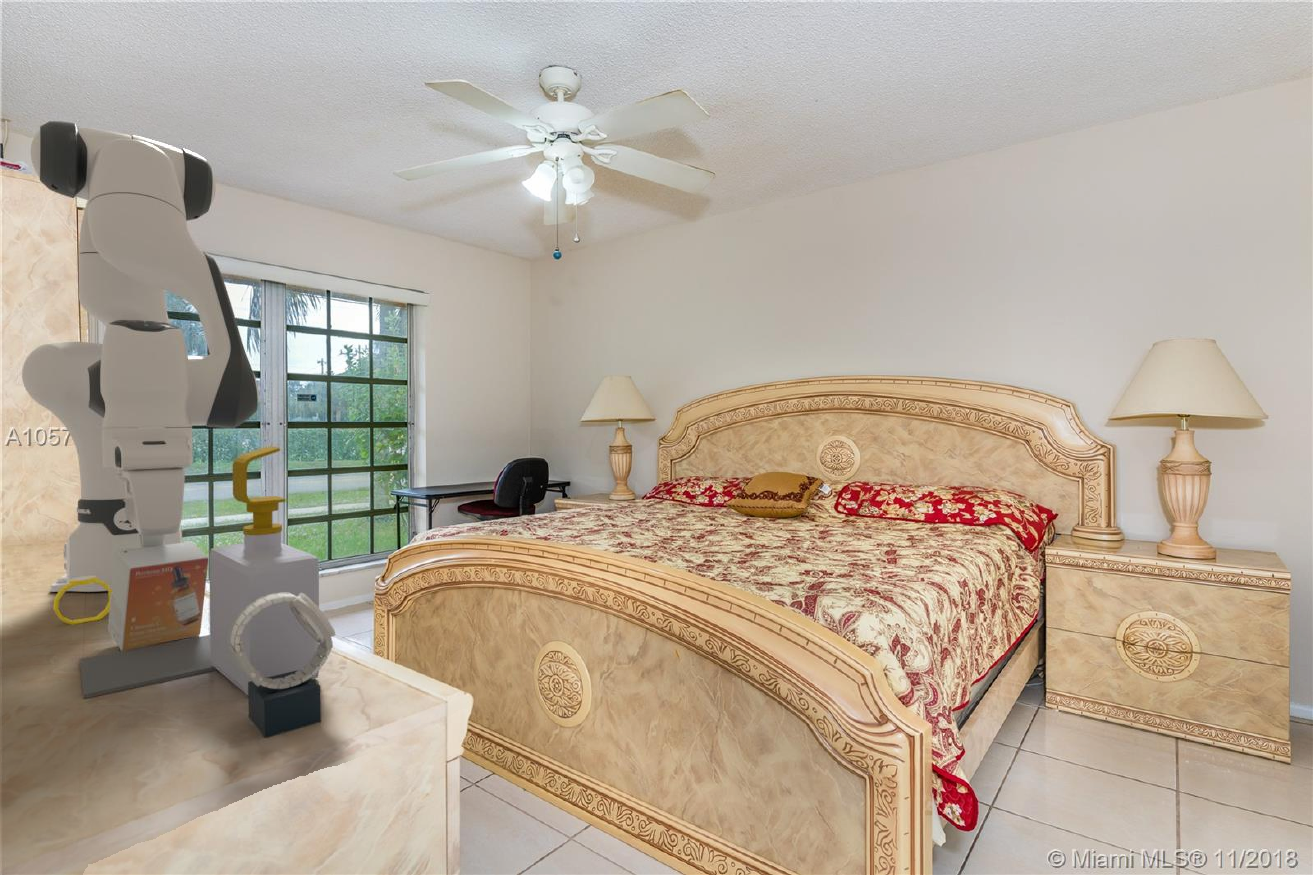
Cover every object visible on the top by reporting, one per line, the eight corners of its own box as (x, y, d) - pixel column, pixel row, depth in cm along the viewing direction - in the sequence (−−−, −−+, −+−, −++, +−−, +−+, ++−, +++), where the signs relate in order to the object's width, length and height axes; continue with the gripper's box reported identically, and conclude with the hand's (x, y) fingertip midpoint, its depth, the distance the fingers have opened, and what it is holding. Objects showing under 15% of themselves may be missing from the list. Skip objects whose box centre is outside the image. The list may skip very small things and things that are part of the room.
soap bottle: (321, 679, 67) (321, 449, 66) (248, 700, 62) (246, 452, 61) (275, 649, 75) (274, 443, 74) (207, 665, 70) (205, 444, 69)
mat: (79, 662, 73) (79, 659, 73) (229, 634, 82) (229, 631, 82) (83, 698, 63) (83, 694, 63) (252, 662, 73) (252, 658, 73)
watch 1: (57, 631, 85) (52, 585, 85) (55, 626, 87) (49, 582, 87) (117, 617, 90) (112, 574, 89) (113, 613, 91) (108, 571, 91)
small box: (120, 653, 76) (127, 568, 74) (106, 631, 79) (112, 549, 77) (201, 635, 82) (209, 557, 80) (185, 615, 85) (193, 539, 83)
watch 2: (344, 714, 59) (342, 592, 59) (240, 745, 54) (237, 610, 54) (324, 696, 63) (321, 581, 63) (225, 722, 58) (222, 597, 58)
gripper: (110, 451, 87) (113, 556, 87) (122, 454, 72) (126, 581, 72) (169, 449, 91) (172, 549, 92) (193, 452, 76) (196, 572, 76)
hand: (152, 564), depth 82 cm, fingers closed
